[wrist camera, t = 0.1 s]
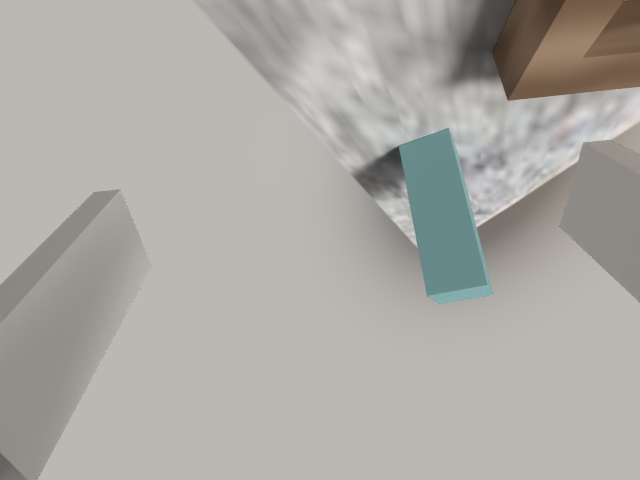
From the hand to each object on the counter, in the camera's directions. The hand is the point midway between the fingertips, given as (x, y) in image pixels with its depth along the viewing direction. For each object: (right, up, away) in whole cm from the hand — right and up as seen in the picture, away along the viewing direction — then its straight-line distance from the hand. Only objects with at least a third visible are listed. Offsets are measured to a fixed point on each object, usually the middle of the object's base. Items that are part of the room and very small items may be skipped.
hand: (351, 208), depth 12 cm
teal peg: (+9, +8, +25) cm, 28 cm away
